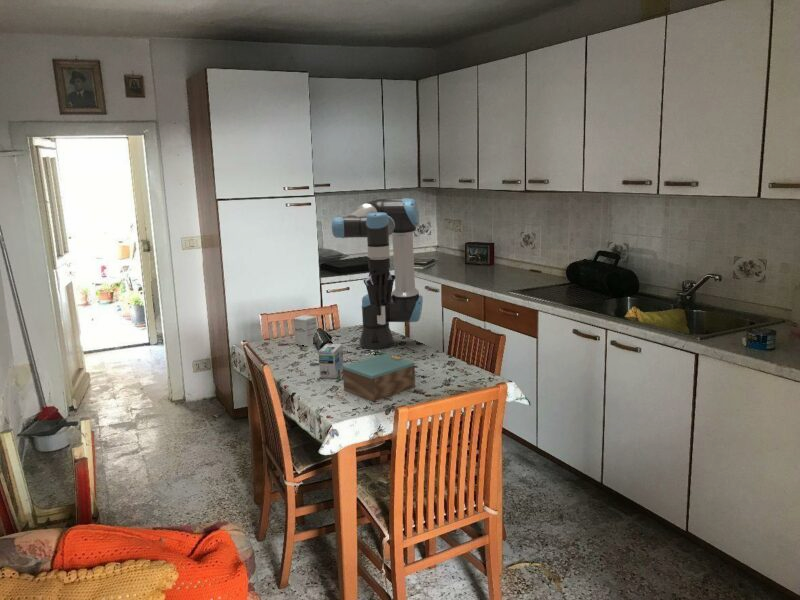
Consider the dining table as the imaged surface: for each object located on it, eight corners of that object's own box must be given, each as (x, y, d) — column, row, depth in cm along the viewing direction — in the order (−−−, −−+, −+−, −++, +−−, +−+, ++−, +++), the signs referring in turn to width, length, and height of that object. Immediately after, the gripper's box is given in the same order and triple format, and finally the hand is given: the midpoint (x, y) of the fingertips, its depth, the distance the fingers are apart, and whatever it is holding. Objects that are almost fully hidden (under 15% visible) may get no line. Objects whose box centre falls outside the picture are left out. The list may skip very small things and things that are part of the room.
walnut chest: (386, 376, 245) (385, 356, 243) (415, 386, 233) (414, 365, 231) (344, 390, 232) (342, 368, 230) (372, 401, 220) (371, 378, 218)
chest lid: (385, 356, 243) (385, 352, 243) (414, 365, 231) (414, 360, 231) (342, 368, 230) (342, 364, 230) (371, 378, 218) (371, 374, 218)
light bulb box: (336, 378, 244) (334, 351, 242) (319, 378, 246) (317, 351, 243) (344, 369, 254) (342, 343, 252) (328, 369, 256) (326, 343, 254)
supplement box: (294, 345, 291) (293, 317, 289) (306, 341, 297) (304, 314, 295) (306, 347, 287) (305, 319, 285) (318, 343, 293) (316, 316, 290)
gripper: (385, 254, 231) (388, 318, 236) (357, 259, 222) (360, 325, 227) (400, 256, 225) (402, 321, 230) (371, 261, 217) (374, 329, 222)
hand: (381, 323), depth 229 cm, fingers closed
